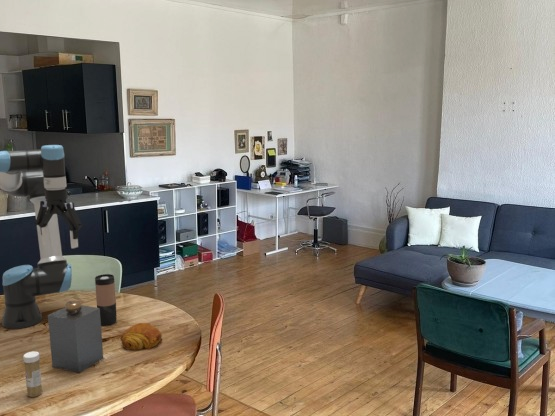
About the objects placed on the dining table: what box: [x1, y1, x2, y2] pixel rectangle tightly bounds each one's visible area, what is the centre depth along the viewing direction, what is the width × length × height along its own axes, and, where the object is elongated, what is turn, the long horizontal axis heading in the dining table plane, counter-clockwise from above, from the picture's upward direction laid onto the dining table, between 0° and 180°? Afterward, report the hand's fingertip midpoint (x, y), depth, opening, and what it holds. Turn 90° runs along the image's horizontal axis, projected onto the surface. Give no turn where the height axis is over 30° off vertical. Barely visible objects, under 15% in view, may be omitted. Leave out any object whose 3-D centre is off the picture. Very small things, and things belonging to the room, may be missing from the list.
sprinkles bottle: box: [22, 350, 43, 398], centre depth 174 cm, size 5×5×14 cm
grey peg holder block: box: [47, 304, 104, 374], centre depth 195 cm, size 12×12×19 cm
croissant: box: [120, 322, 163, 351], centre depth 212 cm, size 14×16×8 cm
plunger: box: [65, 300, 82, 314], centre depth 194 cm, size 9×9×20 cm
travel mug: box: [94, 273, 117, 327], centre depth 230 cm, size 8×8×20 cm
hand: (60, 245), depth 204 cm, fingers open, 13 cm apart
